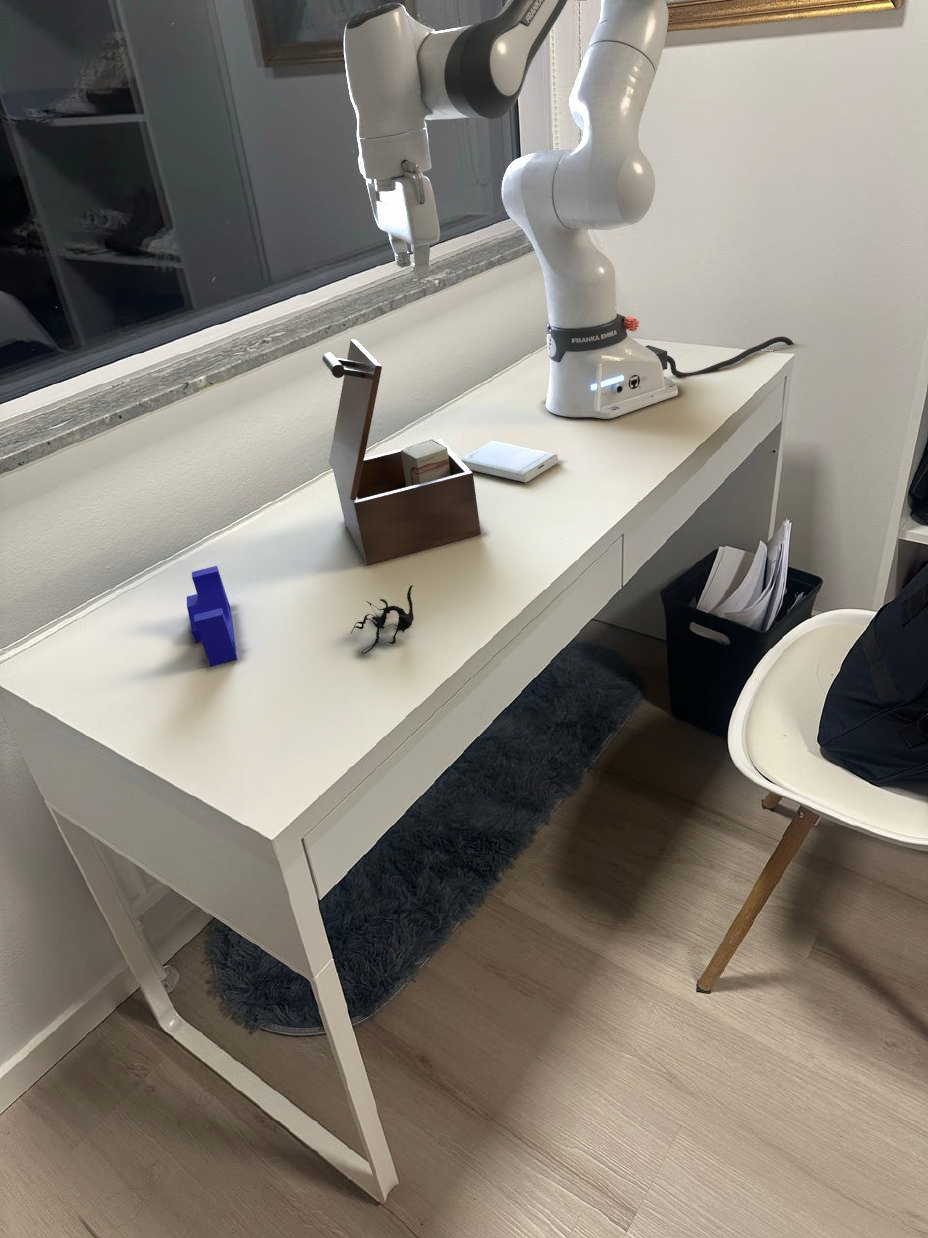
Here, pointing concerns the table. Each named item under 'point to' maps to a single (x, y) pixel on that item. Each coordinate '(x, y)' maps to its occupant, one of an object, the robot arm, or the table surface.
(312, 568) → the table surface
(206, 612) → the cable clip
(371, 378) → the lid
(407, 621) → the creature
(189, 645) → the table surface
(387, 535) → the chest
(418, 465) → the small cardboard box
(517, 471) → the hard drive
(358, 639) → the table surface
